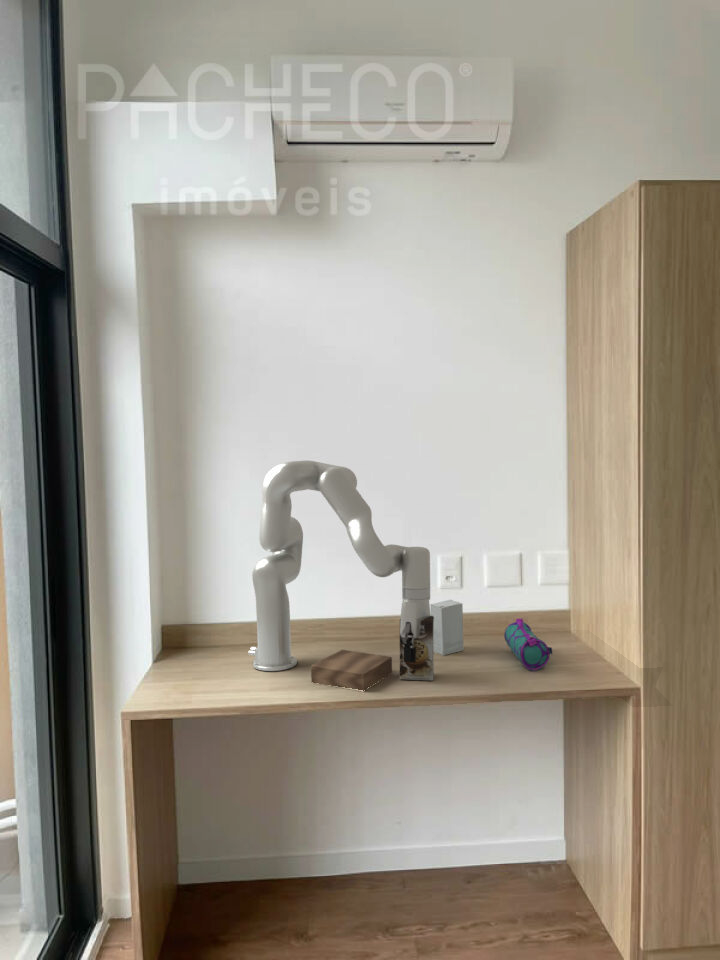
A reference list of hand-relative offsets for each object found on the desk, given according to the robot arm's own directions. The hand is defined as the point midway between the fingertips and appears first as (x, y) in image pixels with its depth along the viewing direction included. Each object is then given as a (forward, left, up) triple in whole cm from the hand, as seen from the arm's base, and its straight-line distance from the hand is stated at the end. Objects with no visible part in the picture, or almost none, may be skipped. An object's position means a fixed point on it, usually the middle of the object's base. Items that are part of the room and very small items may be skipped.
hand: (416, 657), depth 190 cm
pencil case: (+22, +27, -6) cm, 35 cm away
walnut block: (-16, -8, -6) cm, 19 cm away
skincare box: (-2, +25, -6) cm, 26 cm away
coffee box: (0, 0, -6) cm, 6 cm away
